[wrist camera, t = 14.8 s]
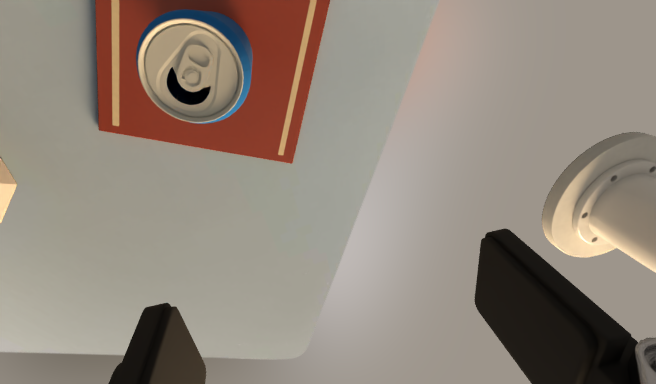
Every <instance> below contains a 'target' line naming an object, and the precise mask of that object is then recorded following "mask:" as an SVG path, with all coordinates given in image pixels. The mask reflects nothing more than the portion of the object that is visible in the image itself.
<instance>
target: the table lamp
mask: <svg viewBox="0 0 656 384" xmlns="http://www.w3.org/2000/svg"><path fill="white" fill-rule="evenodd" d="M16 186H17V184H16V182H15V180H14V179H13V177H12V175H11V174H10V172H9V171H8V169H7V167H6V166H5V164H4V162H3V161H2V159H1V157H0V223H1V221H2V219H3V217H4V214H5V212H6V210H7V207H8V205H9V203H10V200H11V198H12V195H13V193H14V191H15V188H16Z"/></svg>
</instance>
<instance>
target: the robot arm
mask: <svg viewBox="0 0 656 384" xmlns="http://www.w3.org/2000/svg"><path fill="white" fill-rule="evenodd" d="M572 223H573V229H574V231H575V233H576V234H577V236H578V237H579V238H581V239H582V240H584V241H585V242H587V243H589V244H594V245H603V244H609V243H610V244H612V245H613V246H615V247H616V248H618V249H619V250H621V251H623V252H624V253H626V254H627V255H629V256H631V257H632V258H633V259H635V260H637V261H638V262H640V263H641V264H643V265H644V266H646V267H648V268H649V269H651V270H652V271H654V272H655V273H656V163H653V162H651V161H648V160H643V159H634V160H629V161H625V162H623V163H620V164H618V165H616V166H614V167H612V168H610V169H609V170H607V171H606V172H604V173H603V174H601V175H600V176H599V177H598V178H597V179H596V180H594V181H593V182H592V183H591V184H590V186H589V187H588V188H587V189H586V190H585V191H584V193H583V194H582V196H581V197H580V199H579V201H578V203H577V205H576V207H575V210H574V214H573V221H572ZM475 305H476V307H477V309H478V311H479V313H480V314H481V315H482V317H483V318H484V319H485V321H486V322H487V323H488V325H489V326H490V327H491V329H492V330H493V331H494V333H495V334H496V336H497V337H498V338H499V340H500V341H501V343H502V344H503V345H504V347H505V348H506V349H507V351H508V352H509V353H510V355H511V356H512V357H513V359H514V360H515V362H516V363H517V364H518V366H519V367H520V368H521V370H522V371H523V372H524V374H525V375H526V377H527V378H528V379H529V381H530V382H531V383H532V384H656V338H646V339H644V340H641V341H640V342H639V343H638V342H637V341H636V340H635V339H634V338H632V337H631V334H630V333H629V332H628V331H626V330H625V329H624V328H623V327H622V326H621V325H619V324H618V323H617V322H616V321H615V320H613V319H612V318H611V317H610V316H609V315H608V314H606V313H605V312H604V311H603V310H602V309H601V308H599V307H598V306H597V305H596V304H595V303H594V302H593V301H591V300H590V299H589V298H588V297H587V296H585V295H584V294H583V293H582V292H581V291H580V290H579V289H578V288H576V287H575V286H574V285H573V284H572V283H570V282H569V281H568V280H567V279H566V278H565V277H564V276H562V275H561V274H560V273H559V272H558V271H556V270H555V269H554V268H553V267H552V266H551V265H550V264H548V263H547V262H546V261H545V260H544V259H542V258H541V257H540V256H539V255H538V254H537V253H535V252H534V251H533V250H532V249H531V248H530V247H529V246H527V245H526V244H525V243H524V242H523V241H521V240H520V239H519V238H518V237H517V236H516V235H515V234H514V233H512V232H511V231H510V230H508V229H501V230H497V231H492V232H488V233H487V234H486V236H485V238H483V239H482V240H481V247H480V256H479V265H478V275H477V283H476V293H475ZM205 379H206V368H205V364H204V362H203V360H202V358H201V356H200V353H199V351H198V349H197V347H196V345H195V343H194V341H193V339H192V337H191V335H190V333H189V331H188V329H187V327H186V325H185V323H184V321H183V319H182V317H181V315H180V313H179V310H178V309H177V307H171V306H170V304H168V303H164V304H159V305H155V306H150V307H146V308H145V309H144V311H143V312H142V315H141V317H140V320H139V322H138V325H137V327H136V329H135V332H134V334H133V337H132V339H131V342H130V344H129V347H128V349H127V351H126V354H125V356H124V359H123V361H122V363H120V364H119V365H118V366H117V367H116V369H115V371H114V372H113V374H112V377H111V379H110V382H109V384H205Z"/></svg>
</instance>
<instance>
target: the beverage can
mask: <svg viewBox="0 0 656 384" xmlns="http://www.w3.org/2000/svg"><path fill="white" fill-rule="evenodd" d="M252 60H253V56H252V48H251V44H250V42H249V39H248V37H247V35H246V34H245V32H244V31H243V29H242V28H241V27H240V26H239V25H238V24H237V23H236V22H235V21H234V20H232V19H231V18H229V17H227V16H225V15H223V14H221V13H217V12H212V11H200V10H188V9H182V10H174V11H170V12H167V13H165V14H162V15H160V16H159V17H157V18H156V19H154V20H153V21H152V22H151V23H150V24H149V25H148V26H147V27H146V28H145V30H144V32H143V33H142V35H141V37H140V40H139V42H138V46H137V52H136V65H137V71H138V75H139V78H140V81H141V83H142V85H143V87H144V89H145V91H146V93H147V94H148V96H149V97H150V98H151V100H152V101H153V102H154V103H155V104H156V105H157V106H158V107H159V108H160V109H162V110H163V111H164V112H166V113H167V114H169V115H171V116H173V117H175V118H177V119H180V120H183V121H186V122H190V123H197V124H206V123H213V122H217V121H220V120H223V119H225V118H227V117H229V116H230V115H232V114H233V113H234V112H236V111H237V110H238V109H239V108H240V106H241V105H242V104H243V102H244V100H245V99H246V97H247V94H248V92H249V88H250V84H251V74H252Z"/></svg>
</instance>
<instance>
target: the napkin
mask: <svg viewBox="0 0 656 384" xmlns="http://www.w3.org/2000/svg"><path fill="white" fill-rule="evenodd" d="M329 2H330V0H95V5H96V43H97V82H98V121H99V130H100V131H106V132H112V133H118V134H124V135H129V136H135V137H141V138H147V139H153V140H159V141H164V142H170V143H176V144H182V145H188V146H193V147H199V148H205V149H211V150H217V151H222V152H228V153H234V154H240V155H246V156H251V157H257V158H263V159H269V160H275V161H280V162H286V163H292V162H293V158H294V154H295V149H296V145H297V141H298V136H299V132H300V128H301V123H302V119H303V115H304V111H305V106H306V102H307V98H308V93H309V89H310V85H311V80H312V76H313V72H314V67H315V63H316V59H317V54H318V50H319V46H320V41H321V37H322V33H323V28H324V24H325V20H326V15H327V11H328V7H329ZM182 9H188V10H200V11H212V12H217V13H221V14H223V15H225V16H227V17H229V18H231V19H232V20H234V21H235V22H236V23H237V24H238V25H239V26H240V27H241V28H242V29H243V31H244V32H245V34H246V35H247V37H248V39H249V42H250V44H251V48H252V56H253V60H252V74H251V84H250V88H249V92H248V94H247V97H246V99H245V100H244V102H243V104H242V105H241V106H240V108H239V109H238V110H237V111H236V112H234V113H233V114H232V115H230V116H229V117H227V118H225V119H223V120H220V121H217V122H213V123H206V124H197V123H190V122H186V121H183V120H180V119H177V118H175V117H173V116H171V115H169V114H167V113H166V112H164V111H163V110H162V109H160V108H159V107H158V106H157V105H156V104H155V103H154V102H153V101H152V100H151V98H150V97H149V96H148V94H147V93H146V91H145V89H144V87H143V85H142V83H141V81H140V78H139V75H138V71H137V65H136V52H137V46H138V42H139V40H140V37H141V35H142V33H143V32H144V30H145V28H146V27H147V26H148V25H149V24H150V23H151V22H152V21H153V20H154V19H156V18H157V17H159V16H160V15H162V14H165V13H167V12H170V11H174V10H182Z"/></svg>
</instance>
